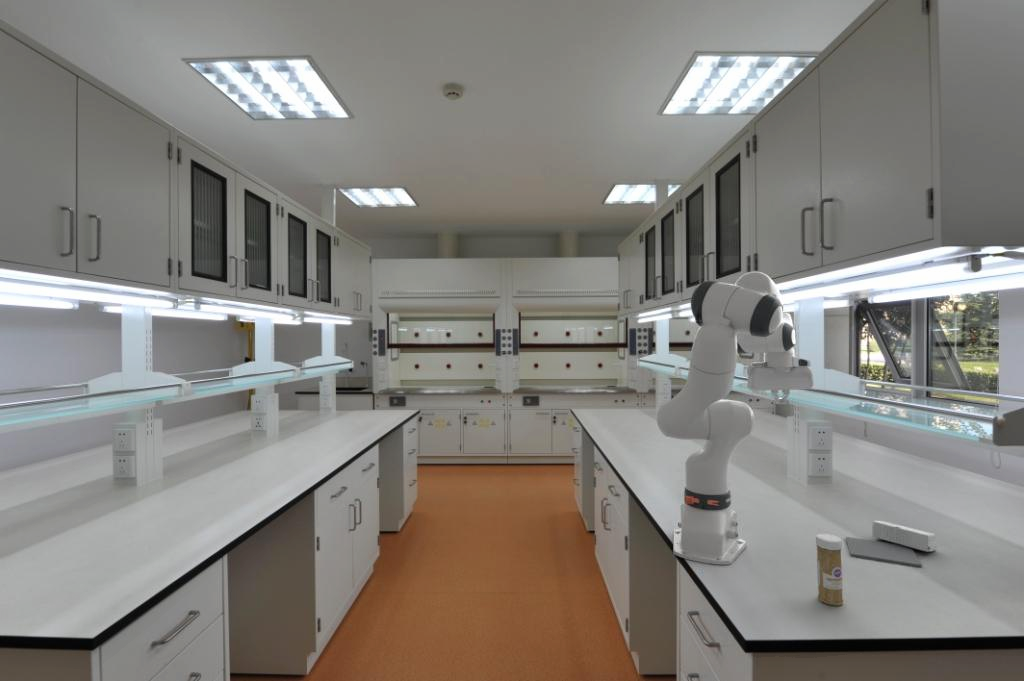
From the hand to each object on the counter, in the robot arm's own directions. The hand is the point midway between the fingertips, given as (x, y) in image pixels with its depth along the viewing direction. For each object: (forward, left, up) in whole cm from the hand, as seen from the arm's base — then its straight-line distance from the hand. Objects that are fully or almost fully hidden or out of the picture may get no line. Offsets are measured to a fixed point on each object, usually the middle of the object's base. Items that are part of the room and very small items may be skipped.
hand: (780, 403), depth 159 cm
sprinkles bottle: (-60, -9, -34) cm, 70 cm away
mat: (-27, -22, -34) cm, 49 cm away
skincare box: (-17, -22, -32) cm, 42 cm away
